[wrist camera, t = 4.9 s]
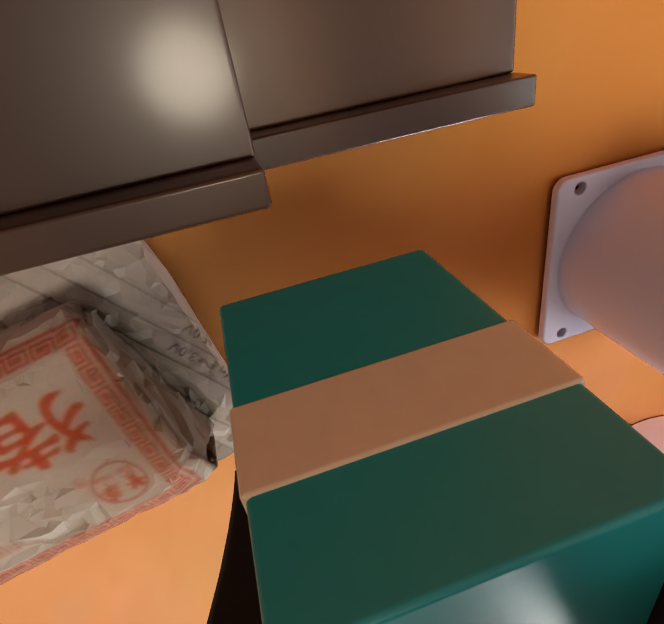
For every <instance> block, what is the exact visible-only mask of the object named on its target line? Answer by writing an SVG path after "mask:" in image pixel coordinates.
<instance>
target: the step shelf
mask: <svg viewBox="0 0 664 624" xmlns="http://www.w3.org/2000/svg"><path fill="white" fill-rule="evenodd" d="M516 2H517V0H0V276H2V275H6V274H10V273H14V272H18V271H21V270H25V269H29V268H33V267H37V266H41V265H45V264H49V263H53V262H57V261H61V260H65V259H69V258H73V257H77V256H81V255H85V254H89V253H93V252H97V251H101V250H105V249H109V248H113V247H116V246H120V245H124V244H128V243H132V242H136V241H140V240H144V239H148V238H152V237H156V236H160V235H164V234H168V233H172V232H176V231H180V230H184V229H188V228H192V227H196V226H200V225H204V224H208V223H211V222H215V221H219V220H223V219H227V218H231V217H235V216H239V215H243V214H247V213H251V212H255V211H259V210H263V209H267V208H269V207H271V203H272V202H271V197H270V193H269V189H268V185H267V181H266V177H265V172H264V170H267V169H271V168H276V167H280V166H284V165H288V164H292V163H297V162H301V161H305V160H309V159H313V158H317V157H322V156H326V155H330V154H334V153H338V152H342V151H347V150H351V149H355V148H359V147H363V146H368V145H372V144H376V143H380V142H384V141H388V140H393V139H397V138H401V137H405V136H409V135H414V134H418V133H422V132H426V131H430V130H434V129H439V128H443V127H447V126H451V125H455V124H459V123H464V122H468V121H472V120H476V119H480V118H485V117H489V116H493V115H497V114H501V113H505V112H510V111H514V110H518V109H522V108H526V107H531V106H533V105H534V103H535V89H536V75H535V74H525V73H511V72H512V71H513V68H514V46H515V24H516Z"/></svg>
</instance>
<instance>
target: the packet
mask: <svg viewBox="0 0 664 624" xmlns="http://www.w3.org/2000/svg"><path fill="white" fill-rule="evenodd" d="M220 316H221V324H222V331H223V338H224V346H225V353H226V360H227V368H228V375H229V383H230V390H231V397H232V405H233V408H232V409H231V410H230V414H229V415H230V423H231V431H232V439H233V447H234V455H235V463H236V471H237V479H238V488H239V496H240V500H241V502H242V504H243V506H244V509H245V511H246V513H247V515H248V523H249V530H250V537H251V545H252V552H253V559H254V567H255V574H256V581H257V589H258V596H259V604H260V611H261V618H262V624H646V623H647V621H648V618H649V616H650V614H651V611H652V609H653V607H654V604H655V602H656V600H657V597H658V595H659V593H660V590H661V588H662V585H663V583H664V453H662V452H661V451H660V450H659V449H658V448H657V447H655V446H654V445H653V444H652V443H651V442H649V441H648V440H647V439H646V438H645V437H644V436H642V435H641V434H640V433H639V432H638V431H636V430H635V429H634V428H633V427H632V426H631V425H629V424H628V423H627V422H626V421H625V420H623V419H622V418H621V417H620V416H619V415H618V414H616V413H615V412H614V411H613V410H612V409H610V408H609V407H608V406H607V405H606V404H605V403H603V402H602V401H601V400H600V399H599V398H597V397H596V396H595V395H594V394H593V393H592V392H590V391H589V390H588V389H587V388H586V387H585V386H584V379H583V377H582V376H581V375H580V374H578V373H577V372H576V371H575V370H573V369H572V368H571V367H570V366H569V365H567V364H566V363H565V362H564V361H563V360H561V359H560V358H559V357H558V356H557V355H555V354H554V353H553V352H552V351H551V350H549V349H548V348H547V347H546V346H544V345H543V344H542V343H541V342H540V341H538V340H537V339H536V338H535V337H534V336H532V335H531V334H530V333H529V332H528V331H526V330H525V329H524V328H523V327H521V326H520V325H519V324H518V323H517V322H515V321H513V320H510V321H507V320H505V319H504V318H503V317H502V316H501V315H499V314H498V313H497V312H496V311H495V310H494V309H492V308H491V307H490V306H489V305H488V304H487V303H485V302H484V301H483V300H482V299H481V298H479V297H478V296H477V295H476V294H475V293H474V292H472V291H471V290H470V289H469V288H468V287H466V286H465V285H464V284H463V283H462V282H461V281H459V280H458V279H457V278H456V277H455V276H453V275H452V274H451V273H450V272H449V271H448V270H446V269H445V268H444V267H443V266H442V265H440V264H439V263H438V262H437V261H436V260H435V259H433V258H432V257H431V256H430V255H429V254H427V253H426V252H425V251H424V250H417V251H414V252H410V253H407V254H403V255H400V256H396V257H393V258H389V259H386V260H382V261H379V262H375V263H371V264H368V265H364V266H361V267H357V268H354V269H350V270H347V271H343V272H340V273H336V274H333V275H329V276H326V277H322V278H318V279H315V280H311V281H308V282H304V283H301V284H297V285H294V286H290V287H287V288H283V289H280V290H276V291H273V292H269V293H265V294H262V295H258V296H255V297H251V298H248V299H244V300H241V301H237V302H234V303H230V304H227V305H223V306H221V307H220Z"/></svg>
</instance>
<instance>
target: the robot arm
mask: <svg viewBox="0 0 664 624" xmlns="http://www.w3.org/2000/svg"><path fill="white" fill-rule="evenodd" d="M578 183H579V186H578V188H577V190H576V191H575V187H576V186H577V184H578ZM593 329H597V330H598V331H600V332H601V333H603V334H604V335H606V336H607V337H609V338H610V339H611V340H613V341H614V342H616V343H617V344H619V345H620V346H622V347H623V348H625V349H626V350H628V351H629V352H631V353H632V354H634V355H635V356H637V357H638V358H640V359H641V360H642V361H644V362H645V363H647V364H648V365H650V366H651V367H653V368H654V369H656V370H657V371H659V372H660V373H662V374H663V375H664V150H662V151H658V152H655V153H651V154H647V155H644V156H640V157H636V158H632V159H629V160H625V161H621V162H618V163H614V164H610V165H606V166H603V167H599V168H595V169H592V170H588V171H584V172H580V173H577V174H573V175H569V176H566V177H563V178H561V179H560V180H559V181H557V182H556V184H555V186H554V188H553V191H552V200H551V210H550V220H549V231H548V241H547V251H546V261H545V271H544V281H543V292H542V302H541V312H540V322H539V332H538V336H539V339H540V340H541V341H543V342H544V343H546V344H550V343H553V342H556V341H559V340H562V339H565V338H568V337H571V336H574V335H577V334H580V333H584V332H587V331H590V330H593ZM207 624H262V618H261V611H260V604H259V596H258V589H257V581H256V574H255V567H254V559H253V552H252V545H251V537H250V530H249V523H248V515H247V513H246V511H245V509H244V506H243V504H242V502H241V500H240V496H239V488H238V479H237V471H235V483H234V494H233V503H232V510H231V516H230V523H229V529H228V534H227V539H226V544H225V549H224V554H223V559H222V564H221V569H220V574H219V578H218V582H217V586H216V590H215V594H214V598H213V602H212V606H211V609H210V613H209V617H208V621H207ZM646 624H664V583H663V585H662V588H661V590H660V593H659V595H658V597H657V600H656V602H655V604H654V607H653V609H652V611H651V614H650V616H649V618H648V621H647V623H646Z"/></svg>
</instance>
